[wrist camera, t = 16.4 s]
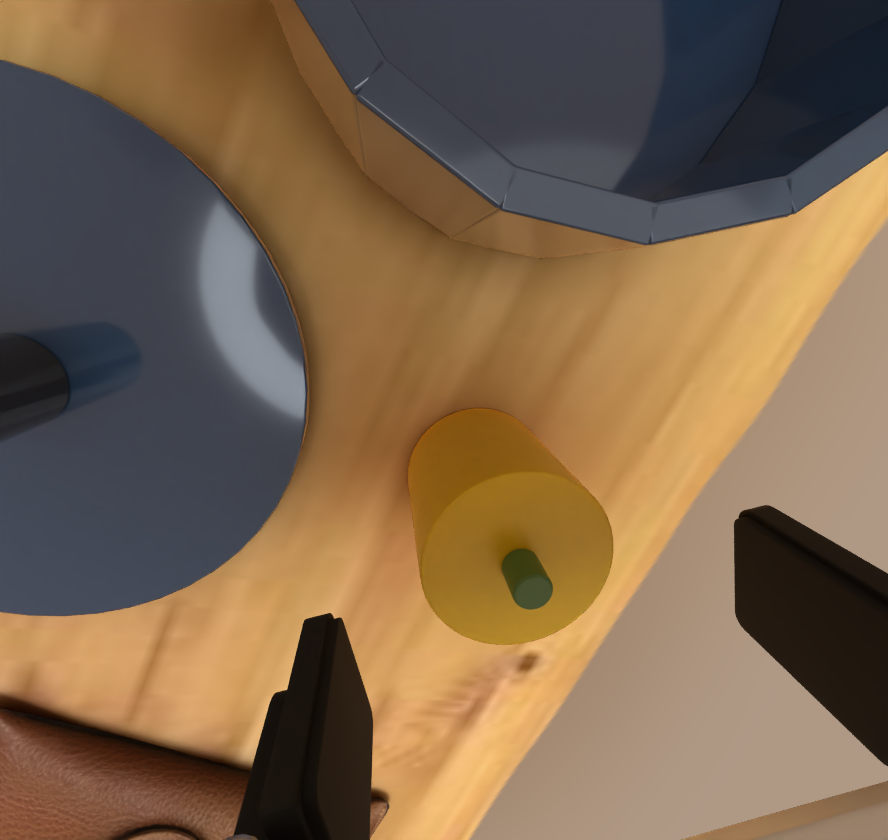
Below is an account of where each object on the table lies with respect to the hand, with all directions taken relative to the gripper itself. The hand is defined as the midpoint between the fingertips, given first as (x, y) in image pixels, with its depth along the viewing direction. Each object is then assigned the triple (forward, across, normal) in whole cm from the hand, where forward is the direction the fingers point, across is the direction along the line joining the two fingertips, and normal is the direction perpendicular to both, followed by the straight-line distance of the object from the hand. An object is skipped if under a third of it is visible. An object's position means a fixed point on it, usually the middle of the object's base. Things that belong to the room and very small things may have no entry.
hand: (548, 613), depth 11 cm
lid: (+7, +13, -7) cm, 17 cm away
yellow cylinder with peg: (+8, 0, 0) cm, 8 cm away
